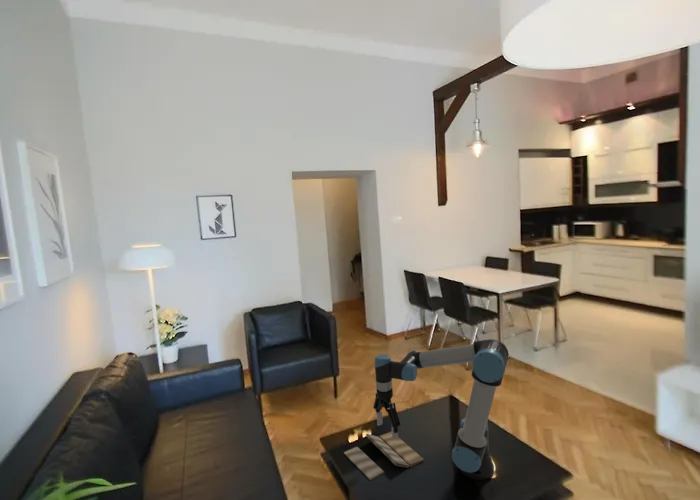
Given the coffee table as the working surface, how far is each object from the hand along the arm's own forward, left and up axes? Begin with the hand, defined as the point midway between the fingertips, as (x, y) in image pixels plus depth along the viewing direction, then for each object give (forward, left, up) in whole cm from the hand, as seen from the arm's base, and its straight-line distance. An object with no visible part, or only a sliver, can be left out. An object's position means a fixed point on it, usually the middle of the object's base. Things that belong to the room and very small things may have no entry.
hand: (387, 431), depth 177 cm
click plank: (+7, -3, -15) cm, 17 cm away
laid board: (+7, -11, -17) cm, 21 cm away
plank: (+8, +10, -18) cm, 22 cm away
